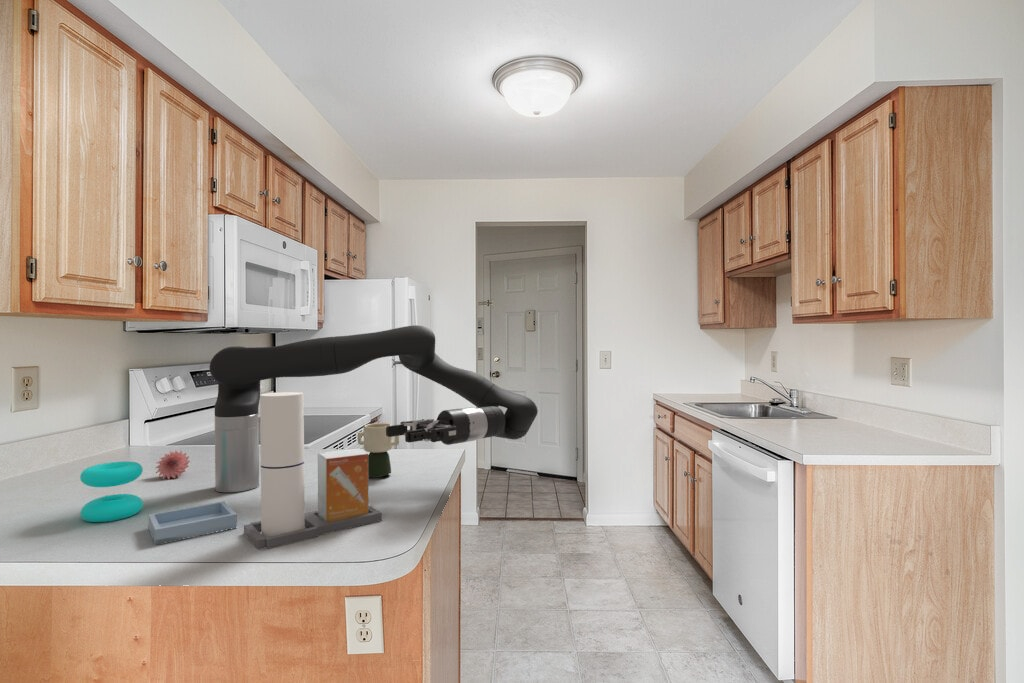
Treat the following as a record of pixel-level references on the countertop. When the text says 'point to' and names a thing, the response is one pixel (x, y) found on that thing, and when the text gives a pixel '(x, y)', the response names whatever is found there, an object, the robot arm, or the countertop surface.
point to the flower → (173, 464)
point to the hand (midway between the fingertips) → (396, 434)
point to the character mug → (377, 448)
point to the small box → (342, 484)
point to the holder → (308, 528)
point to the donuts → (112, 504)
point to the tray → (191, 522)
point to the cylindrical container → (282, 462)
